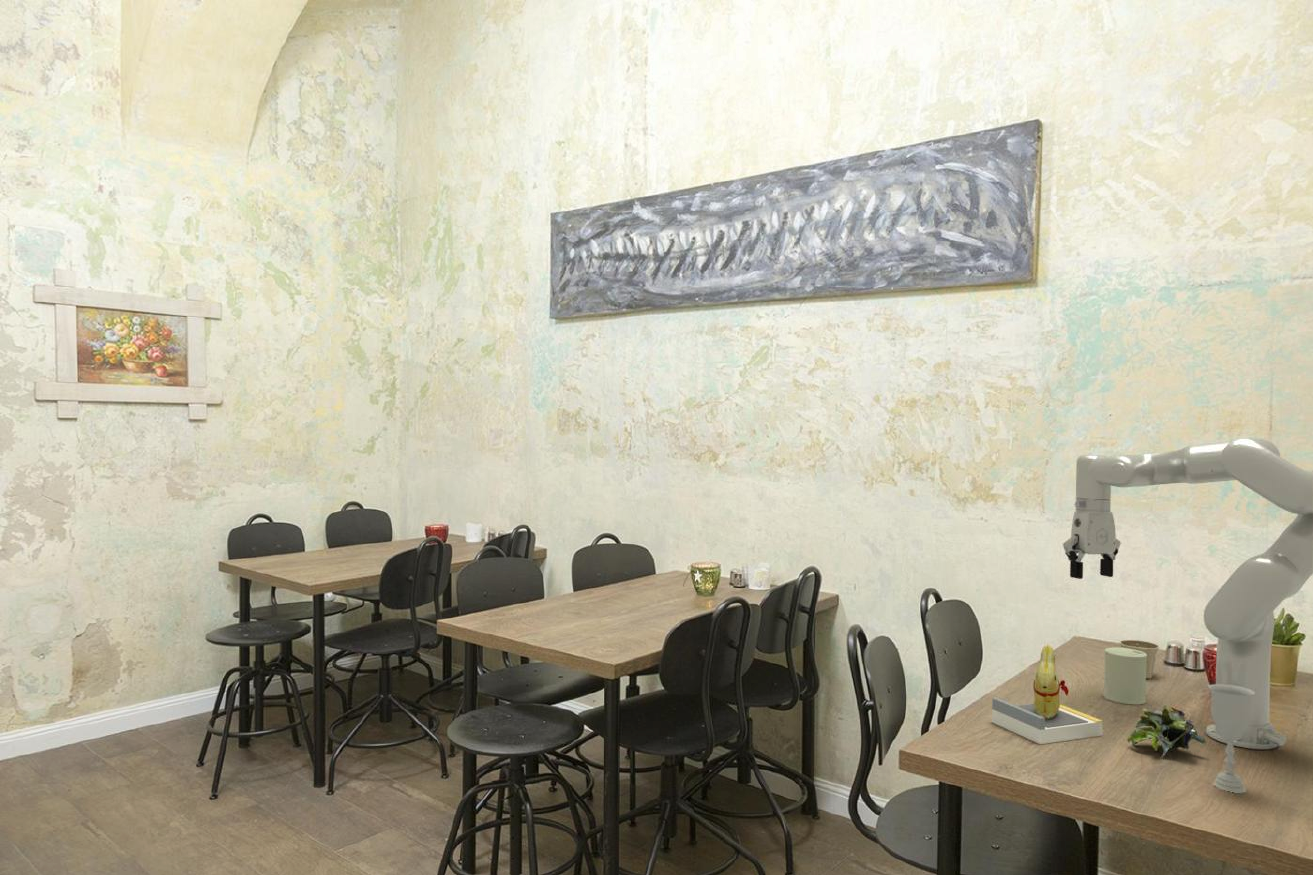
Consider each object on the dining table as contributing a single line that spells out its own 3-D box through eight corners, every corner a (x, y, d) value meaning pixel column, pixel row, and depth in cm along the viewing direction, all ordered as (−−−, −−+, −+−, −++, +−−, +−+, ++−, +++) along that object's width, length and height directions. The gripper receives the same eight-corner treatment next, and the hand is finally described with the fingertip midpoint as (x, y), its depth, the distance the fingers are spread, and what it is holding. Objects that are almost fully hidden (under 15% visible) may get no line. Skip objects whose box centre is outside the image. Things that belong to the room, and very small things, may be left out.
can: (1154, 705, 205) (1155, 655, 205) (1115, 704, 205) (1116, 654, 205) (1133, 693, 214) (1134, 645, 214) (1096, 692, 214) (1097, 644, 214)
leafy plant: (1172, 775, 176) (1214, 734, 173) (1164, 781, 168) (1208, 738, 165) (1124, 733, 183) (1163, 692, 180) (1114, 737, 175) (1155, 694, 172)
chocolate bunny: (1030, 719, 184) (1032, 649, 184) (1036, 705, 193) (1037, 639, 193) (1065, 725, 180) (1067, 654, 180) (1069, 710, 190) (1071, 643, 190)
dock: (1102, 735, 184) (1102, 710, 184) (1040, 744, 178) (1040, 718, 178) (1051, 714, 197) (1051, 691, 197) (992, 722, 191) (992, 698, 191)
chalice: (1235, 779, 161) (1237, 684, 161) (1262, 795, 154) (1264, 695, 154) (1197, 779, 161) (1199, 684, 160) (1222, 795, 154) (1224, 695, 154)
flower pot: (1123, 679, 227) (1123, 646, 227) (1115, 669, 236) (1115, 638, 236) (1163, 682, 224) (1163, 649, 224) (1153, 673, 233) (1154, 641, 233)
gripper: (1078, 508, 200) (1077, 581, 200) (1132, 506, 206) (1131, 577, 206) (1053, 505, 207) (1051, 576, 207) (1106, 504, 213) (1104, 572, 213)
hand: (1091, 577), depth 207 cm, fingers open, 9 cm apart
